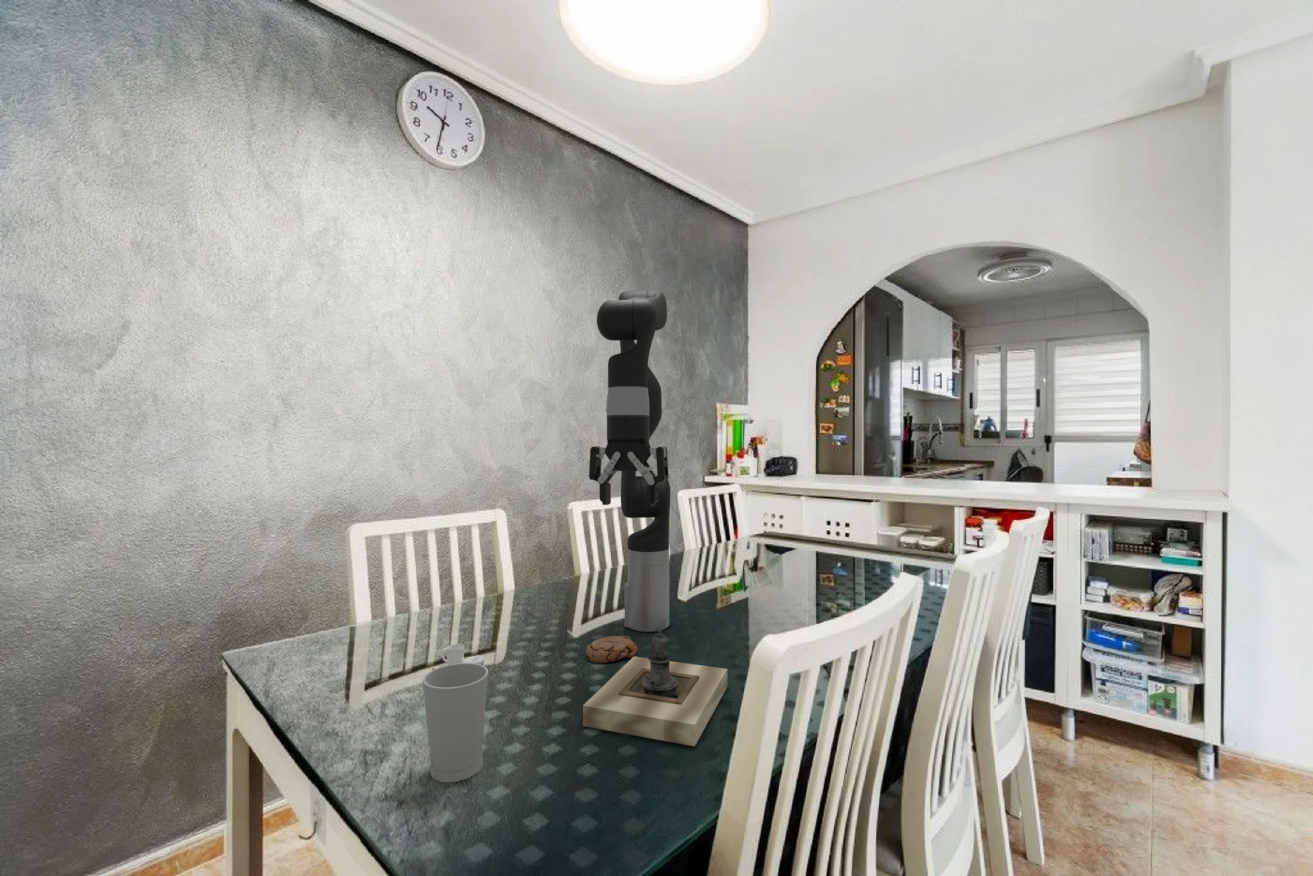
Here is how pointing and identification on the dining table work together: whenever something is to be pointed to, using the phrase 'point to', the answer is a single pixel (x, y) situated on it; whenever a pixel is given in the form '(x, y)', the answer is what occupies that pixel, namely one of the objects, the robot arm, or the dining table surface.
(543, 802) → the dining table surface
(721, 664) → the dining table surface
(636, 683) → the birch frame
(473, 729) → the cup
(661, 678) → the dark grey tall piece
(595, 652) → the cookie
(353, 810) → the dining table surface
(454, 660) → the teacup and saucer
